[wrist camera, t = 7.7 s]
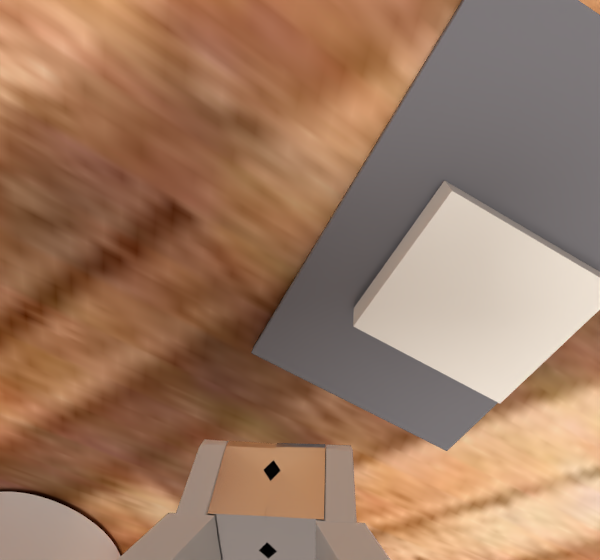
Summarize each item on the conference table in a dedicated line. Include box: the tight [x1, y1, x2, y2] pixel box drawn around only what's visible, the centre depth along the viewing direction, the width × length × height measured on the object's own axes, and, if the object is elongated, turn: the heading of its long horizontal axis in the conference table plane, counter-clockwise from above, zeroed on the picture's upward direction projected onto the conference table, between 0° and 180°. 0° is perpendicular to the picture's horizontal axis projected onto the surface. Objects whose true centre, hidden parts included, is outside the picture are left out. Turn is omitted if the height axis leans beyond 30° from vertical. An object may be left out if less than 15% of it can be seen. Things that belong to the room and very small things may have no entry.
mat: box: [251, 0, 600, 451], centre depth 22 cm, size 22×14×1 cm, turn 152°
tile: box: [353, 181, 600, 403], centre depth 22 cm, size 8×2×9 cm
